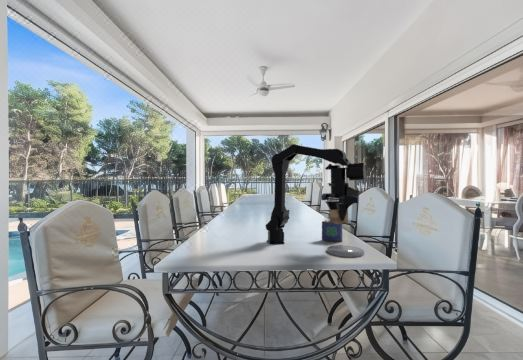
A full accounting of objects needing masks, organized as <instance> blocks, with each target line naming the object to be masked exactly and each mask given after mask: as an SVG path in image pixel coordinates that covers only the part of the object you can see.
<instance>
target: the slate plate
mask: <svg viewBox="0 0 523 360" xmlns="http://www.w3.org/2000/svg"><path fill="white" fill-rule="evenodd" d="M326 248H327V249H326V250H327V251H326V252H327V253H328V254H329V255H331V256H334V257H339V258H352V259H354V258H360V257H363V256H364V255H365V250H364V249H362V248H361V247H357V246H354V245H348V244H347V245H345V244H343V245H342V244H337V245H334V244H333V245H330V246H328V247H326Z"/></svg>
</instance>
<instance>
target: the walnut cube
mask: <svg viewBox="0 0 523 360" xmlns="http://www.w3.org/2000/svg"><path fill="white" fill-rule="evenodd" d="M329 217H330V219H329V220H330V222H332V223H335V224H342V225H344V224H348V223H349V209H348V210H347V212H346V216H345V219H344V221H341V219H340V216H339V212H338V209H335V210H330V209H329Z"/></svg>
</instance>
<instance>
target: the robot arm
mask: <svg viewBox="0 0 523 360" xmlns="http://www.w3.org/2000/svg"><path fill="white" fill-rule="evenodd" d="M297 155H302V156H309V157H313V158H318V159H322V160H324V161H327V162H329V164H328V165H327V166H326V167H325V170H328V171H329V170H330V183H328V186H329V187H330V192H329V193H328V192H327V193H322V194H321V201H325V202H324V203H326V205H327V207H328V209H329V211H330V210H335V209H338V212H339V216H340V219H341V221H344V219H345V216H346V212H347V210H348V211H349V208H350V207H351V206H352V205H354V204H358V203H359V195H360V190H358V189H355V188H352V187H351V186H349V183H348V182H346V179H348V180H349V181H365V180H366V177H367V171H366V168H365V167H366V166H365V162H357V163H355V162H354V163H351V161H350V160H349V158H347V153H346V152H345V151H344V150H342V149H339V148H327V149H326V148H316V147H311V146H310V147H309V146H304V145H299V144H296V143H295V144H294V143H293V144H291V145H290V146H289V147H286V148H285V149H283V150H281V151H280V152H278V153H276V154H273V156H272V157H271V161H270V162H271V167H272V171H273V173H274V206H273V209H272V211H271V215H270V220H269V221H268V222H267V223H266V224H265V229H266V231H267V240H266V242H268V244H270V245H280V244H281V245H282V244H283V245H284V244H285V232H284V229H283V228H285V226H286V224H287V223H288V221H289V220H290V209H287V207H286V175H287V172H288V169H289V167H290V162H291V161H292V160H293V159H294V158H295V157H296V156H297ZM333 164H334V165H333ZM341 166H342V167H341ZM343 166H344V167H343Z"/></svg>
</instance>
